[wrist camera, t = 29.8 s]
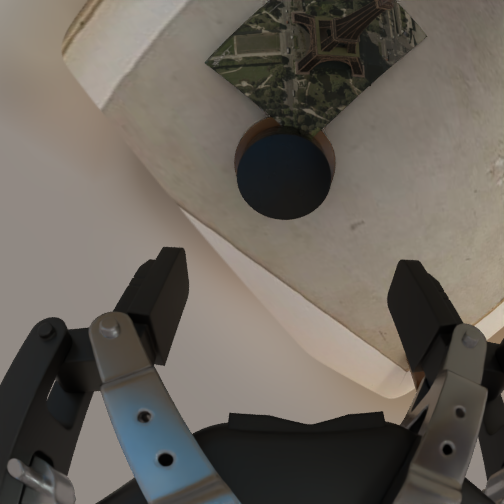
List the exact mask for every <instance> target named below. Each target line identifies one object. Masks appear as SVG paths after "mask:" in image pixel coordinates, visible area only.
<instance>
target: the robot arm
mask: <svg viewBox="0 0 504 504" xmlns="http://www.w3.org/2000/svg"><path fill="white" fill-rule="evenodd" d="M188 294H189V279H188V271H187V263H186V254H185V250H184V248H176V247H163V248H162V250H161V251H160V253H159V255H158V256H157V258H156V260H151V259H150V260H148V261H147V262H146V263H144V264H143V265H141V266H140V267H139V269H138V270H137V272H136V273H135V275H134V278H132V280H131V282H130V283H129V286H128V287H127V288H126V290H125V292H124V293H123V295H122V297H121V298H120V300H119V302H118V303H117V305H116V307H115V309H114V310H113V312H108V313H104V314H102V315H101V316H99V317H97V318H96V319H95V320H94V321H93V322H92V323H91V325H90V327H89V328H81V329H70V330H68V329H67V327H66V325H65V323H64V321H63V320H61V319H59V318H55V317H52V318H46V319H44V320H42V321H40V322H39V323H37V324H36V325H35V326H34V327H33V329H32V330H31V332H30V333H29V335H28V337H27V339H26V340H25V341H24V343H23V345H22V347H21V348H20V350H19V352H18V353H17V355H16V357H15V359H14V360H13V362H12V364H11V366H10V368H9V370H8V372H7V373H6V375H5V377H4V379H3V381H2V383H1V385H0V504H75V501H76V498H75V492H74V487H73V485H72V483H71V481H70V480H69V478H68V477H67V475H68V471H69V468H70V464H71V460H72V457H73V453H74V450H75V447H76V443H77V440H78V436H79V434H80V431H81V427H82V424H83V421H84V418H85V415H86V412H87V410H88V407H89V404H90V401H91V398H92V395H93V392H94V391H101V393H102V397H103V400H104V403H105V406H106V408H107V412H108V414H109V417H110V420H111V423H112V425H113V428H114V430H115V433H116V435H117V438H118V440H119V443H120V445H121V448H122V450H123V453H124V455H125V457H126V459H127V462H128V464H129V466H130V468H131V470H132V472H133V474H134V478H133V479H132V480H130V481H129V482H127V483H126V484H125V485H123V486H122V487H120V488H119V489H117V490H116V491H114V492H113V493H111V494H110V495H108V496H107V497H105V498H104V499H103V500H101V501H99V502H98V503H96V504H504V403H503V400H502V397H501V393H502V391H503V390H504V339H503V340H502V342H501V343H500V344H496V343H491V342H487V341H486V338H485V336H484V335H483V333H482V332H481V331H480V330H479V329H478V328H476V327H475V326H473V325H470V324H465V323H463V322H462V320H461V318H460V316H459V315H458V313H457V311H456V309H455V308H454V306H453V304H452V303H451V301H450V300H449V298H448V296H447V294H446V293H445V292H444V290H443V288H442V286H441V285H440V283H439V282H438V281H437V280H436V279H435V278H434V277H433V276H431V275H430V274H429V273H427V271H426V270H425V268H424V267H423V265H422V264H421V262H420V261H418V260H400V261H399V262H398V265H397V268H396V271H395V274H394V277H393V280H392V283H391V286H390V289H389V292H388V297H387V303H388V308H389V310H390V313H391V316H392V318H393V321H394V323H395V326H396V328H397V331H398V334H399V337H400V339H401V342H402V345H403V348H404V350H405V353H406V356H407V359H408V362H409V365H410V368H411V371H412V373H414V372H423V371H424V373H425V376H424V378H423V379H422V381H421V383H420V385H419V388H418V390H417V393H416V395H415V397H414V399H413V402H412V404H411V406H410V408H409V410H408V412H407V414H406V417H405V418H404V420H403V421H402V423H401V424H400V425H397V424H394V423H390V422H385V419H384V414H383V412H382V411H381V412H372V413H360V414H348V415H345V416H341V417H339V418H335V419H331V420H328V421H324V422H320V423H316V424H303V423H299V422H294V421H290V420H286V419H282V418H278V417H274V416H270V415H253V414H239V413H238V414H237V413H229V420H228V423H221V424H217V425H213V426H209V427H207V428H204V429H201V430H200V431H197V432H195V433H193V434H192V433H191V432H190V430H189V428H188V427H187V425H186V423H185V422H184V420H183V418H182V417H181V415H180V413H179V411H178V410H177V408H176V406H175V404H174V402H173V401H172V399H171V397H170V395H169V393H168V391H167V390H166V388H165V386H164V384H163V382H162V380H161V378H160V376H159V374H158V372H157V371H156V369H155V367H154V364H156V365H163V366H165V363H166V360H167V357H168V354H169V351H170V348H171V345H172V342H173V339H174V336H175V333H176V330H177V327H178V324H179V321H180V319H181V316H182V312H183V310H184V307H185V304H186V301H187V298H188ZM54 380H56V381H55V383H54ZM53 383H54V385H53V388H52V390H51V392H50V389H51V387H52V384H53ZM49 392H50V395H49V397H48V399H47V396H48V394H49ZM477 438H479V442H480V446H481V451H482V456H483V460H484V465H485V471H486V476H487V481H488V482H487V485H486V488H485V489H484V490H482V491H481V490H480V489H478V488H477V487H476V486H475V485H474V484H472V483H471V482H470V481H469V480H468V479H467V478H465V475H466V472H467V469H468V467H469V464H470V461H471V458H472V455H473V452H474V448H475V445H476V442H477Z"/></svg>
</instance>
